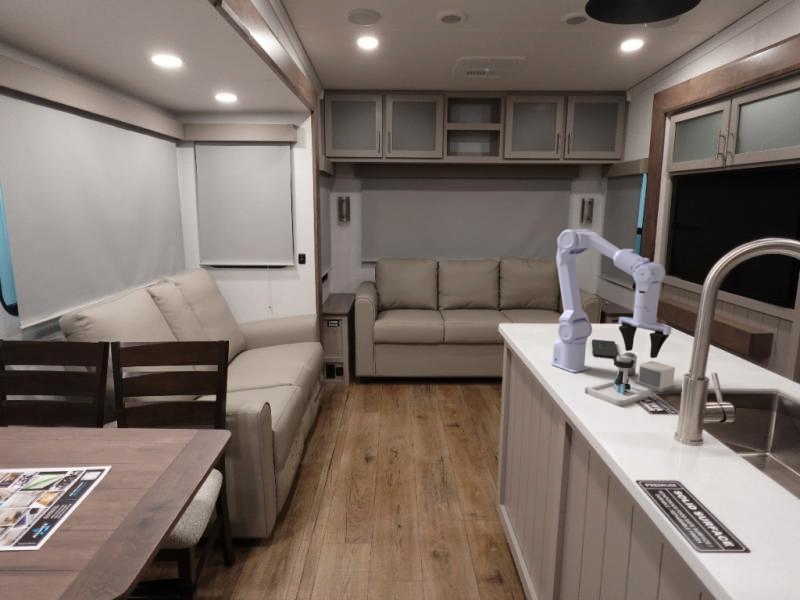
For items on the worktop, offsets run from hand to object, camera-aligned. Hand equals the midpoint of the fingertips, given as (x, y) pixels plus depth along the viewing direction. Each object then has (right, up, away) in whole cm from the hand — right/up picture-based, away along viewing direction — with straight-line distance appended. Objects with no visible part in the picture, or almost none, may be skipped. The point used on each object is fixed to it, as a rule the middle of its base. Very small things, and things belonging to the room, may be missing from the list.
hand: (640, 353), depth 138 cm
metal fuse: (+3, -8, +14) cm, 16 cm away
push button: (-6, -11, -2) cm, 13 cm away
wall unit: (+6, -10, +5) cm, 13 cm away
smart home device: (+6, -4, +40) cm, 40 cm away
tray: (-8, -11, -3) cm, 14 cm away
